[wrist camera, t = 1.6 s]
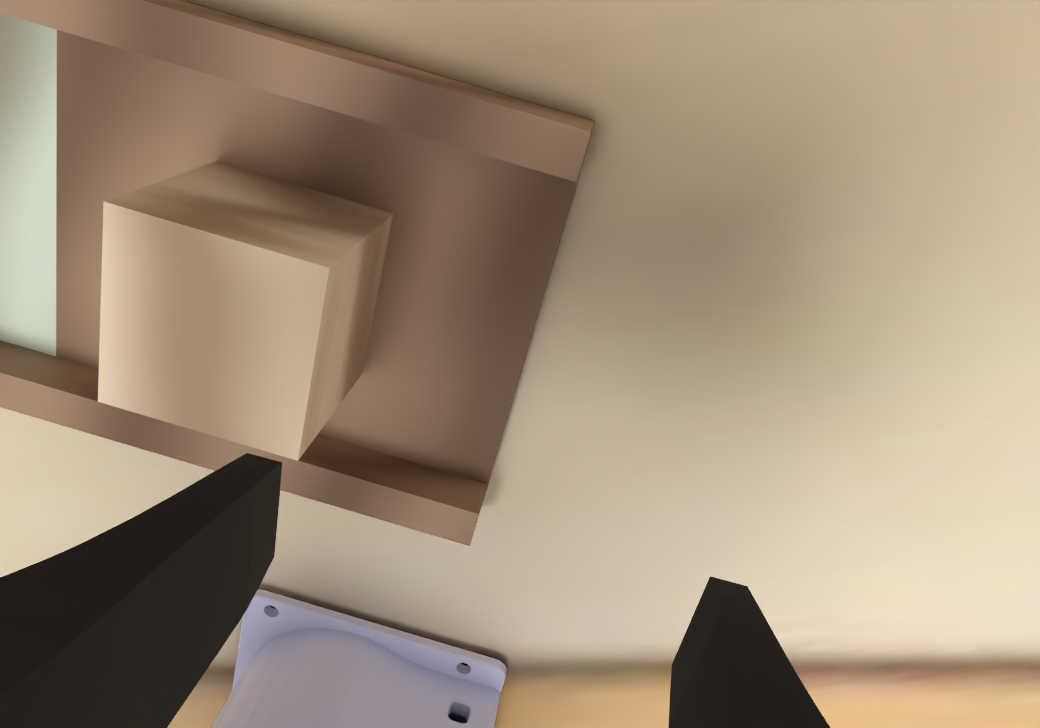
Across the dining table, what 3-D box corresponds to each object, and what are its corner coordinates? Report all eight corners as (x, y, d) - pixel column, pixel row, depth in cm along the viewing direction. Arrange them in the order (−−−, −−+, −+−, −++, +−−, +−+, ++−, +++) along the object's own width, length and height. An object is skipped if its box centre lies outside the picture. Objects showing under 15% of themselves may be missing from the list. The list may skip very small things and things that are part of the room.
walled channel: (594, 120, 20) (591, 132, 18) (481, 507, 25) (469, 545, 23) (-158, -100, 20) (-236, -111, 18) (-114, 331, 25) (-171, 356, 23)
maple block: (393, 213, 21) (329, 268, 17) (362, 373, 23) (297, 460, 19) (215, 160, 21) (103, 201, 17) (201, 325, 23) (97, 401, 19)
